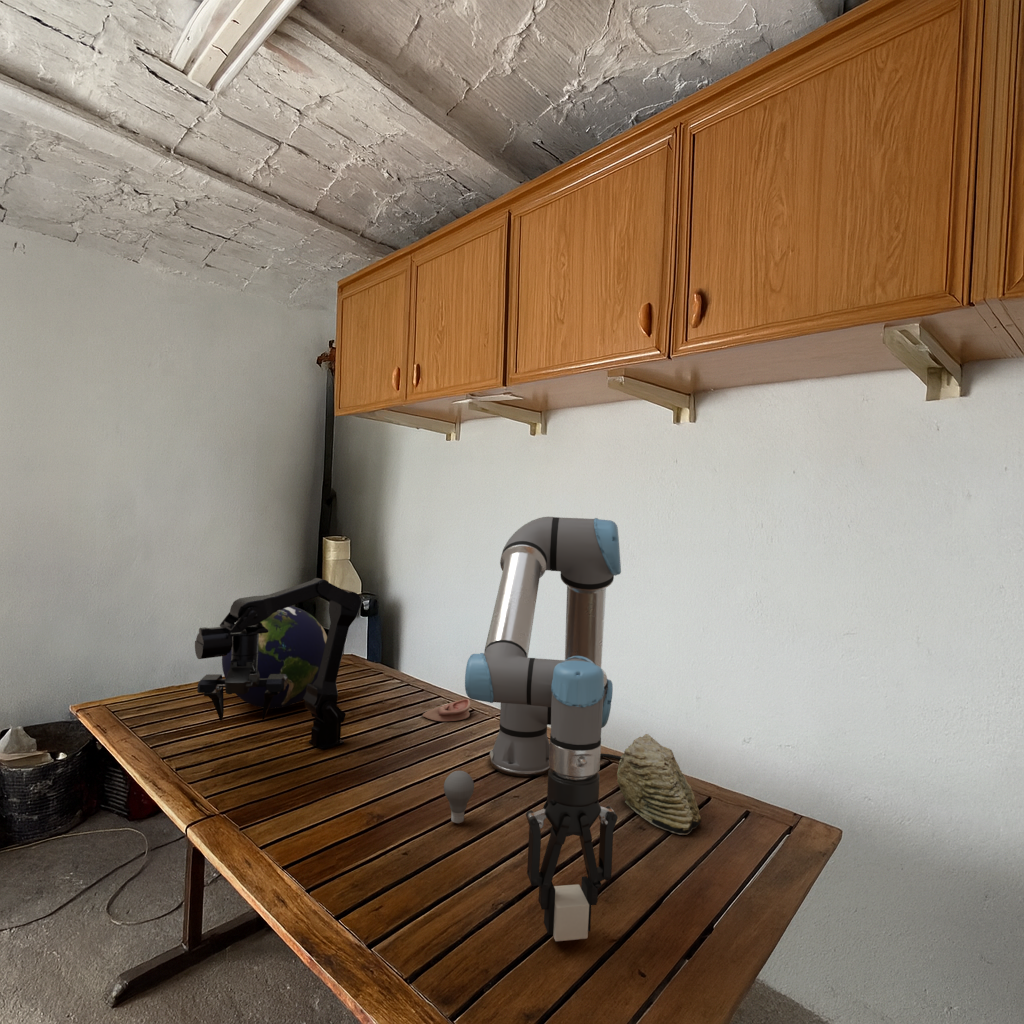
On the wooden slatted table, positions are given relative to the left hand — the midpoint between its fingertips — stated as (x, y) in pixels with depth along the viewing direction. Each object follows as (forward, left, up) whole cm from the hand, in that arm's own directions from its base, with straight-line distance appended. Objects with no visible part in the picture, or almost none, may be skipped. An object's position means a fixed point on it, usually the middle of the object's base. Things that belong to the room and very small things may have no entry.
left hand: (242, 719), depth 148 cm
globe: (-25, -32, -10) cm, 42 cm away
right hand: (-7, +90, -8) cm, 90 cm away
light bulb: (-18, +54, -10) cm, 58 cm away
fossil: (-50, +80, -10) cm, 95 cm away
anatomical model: (-58, +7, -10) cm, 60 cm away
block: (-7, +90, -9) cm, 90 cm away
